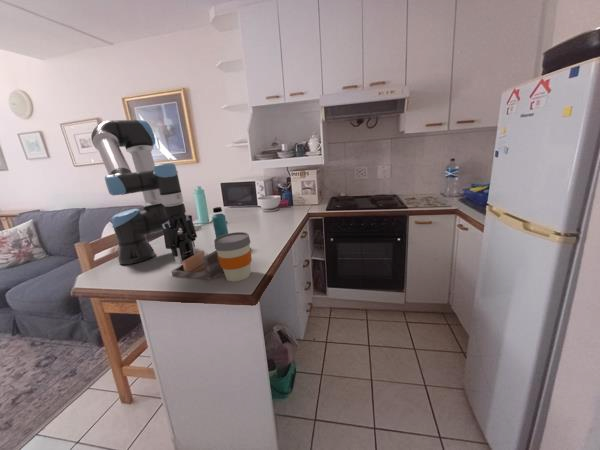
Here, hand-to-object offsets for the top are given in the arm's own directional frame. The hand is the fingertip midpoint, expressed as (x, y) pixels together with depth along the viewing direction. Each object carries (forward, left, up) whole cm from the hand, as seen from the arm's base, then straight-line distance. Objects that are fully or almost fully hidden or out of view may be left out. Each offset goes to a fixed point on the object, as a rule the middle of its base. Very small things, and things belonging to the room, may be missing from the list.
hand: (186, 259), depth 108 cm
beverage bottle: (-1, +26, -4) cm, 27 cm away
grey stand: (+8, 0, -4) cm, 9 cm away
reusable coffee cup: (+26, -2, -4) cm, 26 cm away
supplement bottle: (0, 0, -1) cm, 1 cm away
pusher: (+4, 0, -3) cm, 5 cm away
